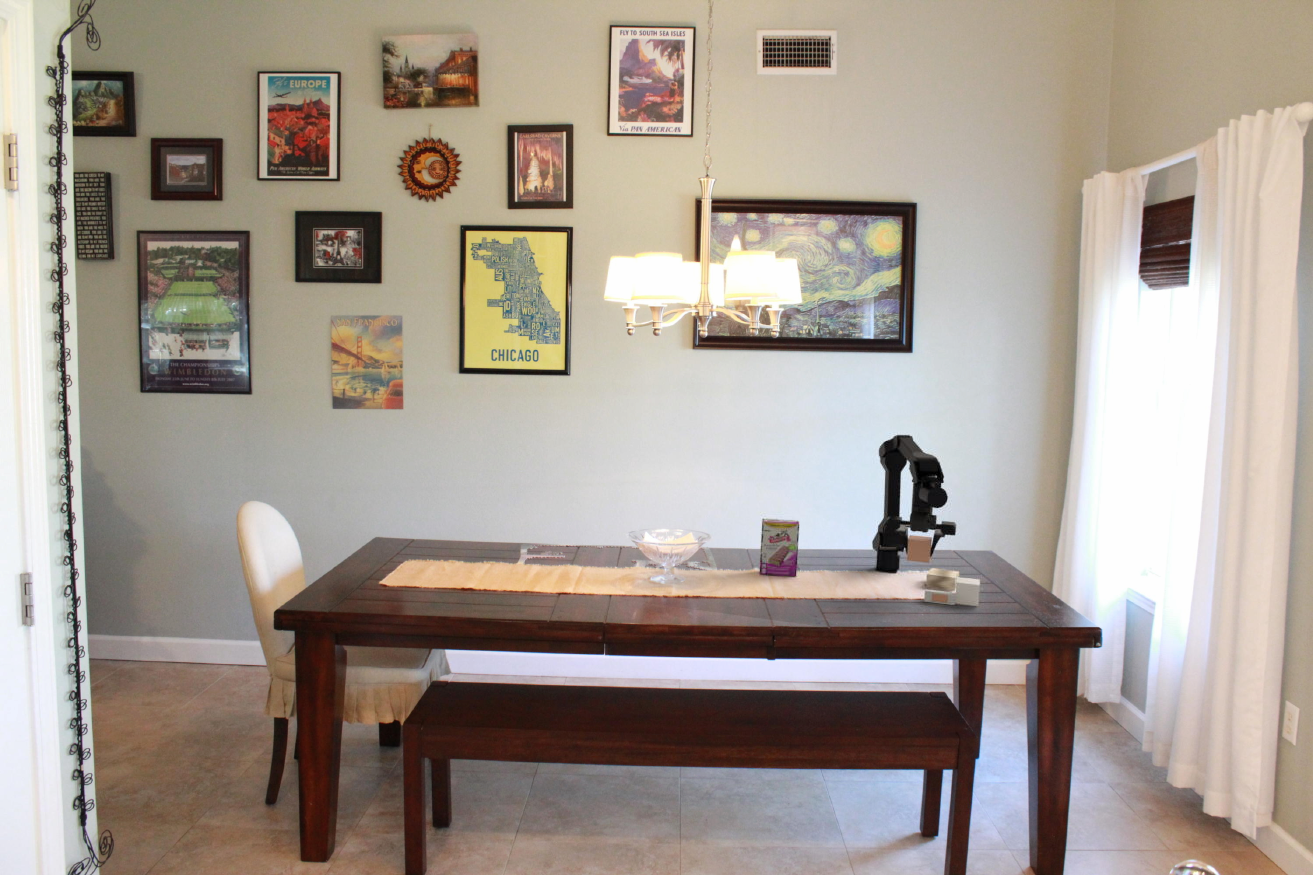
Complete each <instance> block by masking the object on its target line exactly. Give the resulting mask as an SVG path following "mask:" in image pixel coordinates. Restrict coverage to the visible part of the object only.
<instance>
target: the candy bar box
mask: <svg viewBox="0 0 1313 875" xmlns="http://www.w3.org/2000/svg"><path fill="white" fill-rule="evenodd" d="M799 535H800V521H799V520H794V519H777V518H762V520H761V533H760V536H761V537H760V539H761V540H760V553H759V554H760V555H759V556H760V557H759V575H762V576H764V575H765V576H778V577H779V576H780V577H781V576H783V577H797V571H798V554H799Z"/></svg>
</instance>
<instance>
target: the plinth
mask: <svg viewBox="0 0 1313 875" xmlns="http://www.w3.org/2000/svg"><path fill="white" fill-rule="evenodd" d="M923 596H924V599H923V602H925V603H926V602H927V603H934V604H941V605H942V604H943V605H952V606H955V605H956V604H955V596H956V592H952V591H942V590H934V589H926V588H925V589H924V595H923Z"/></svg>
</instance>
